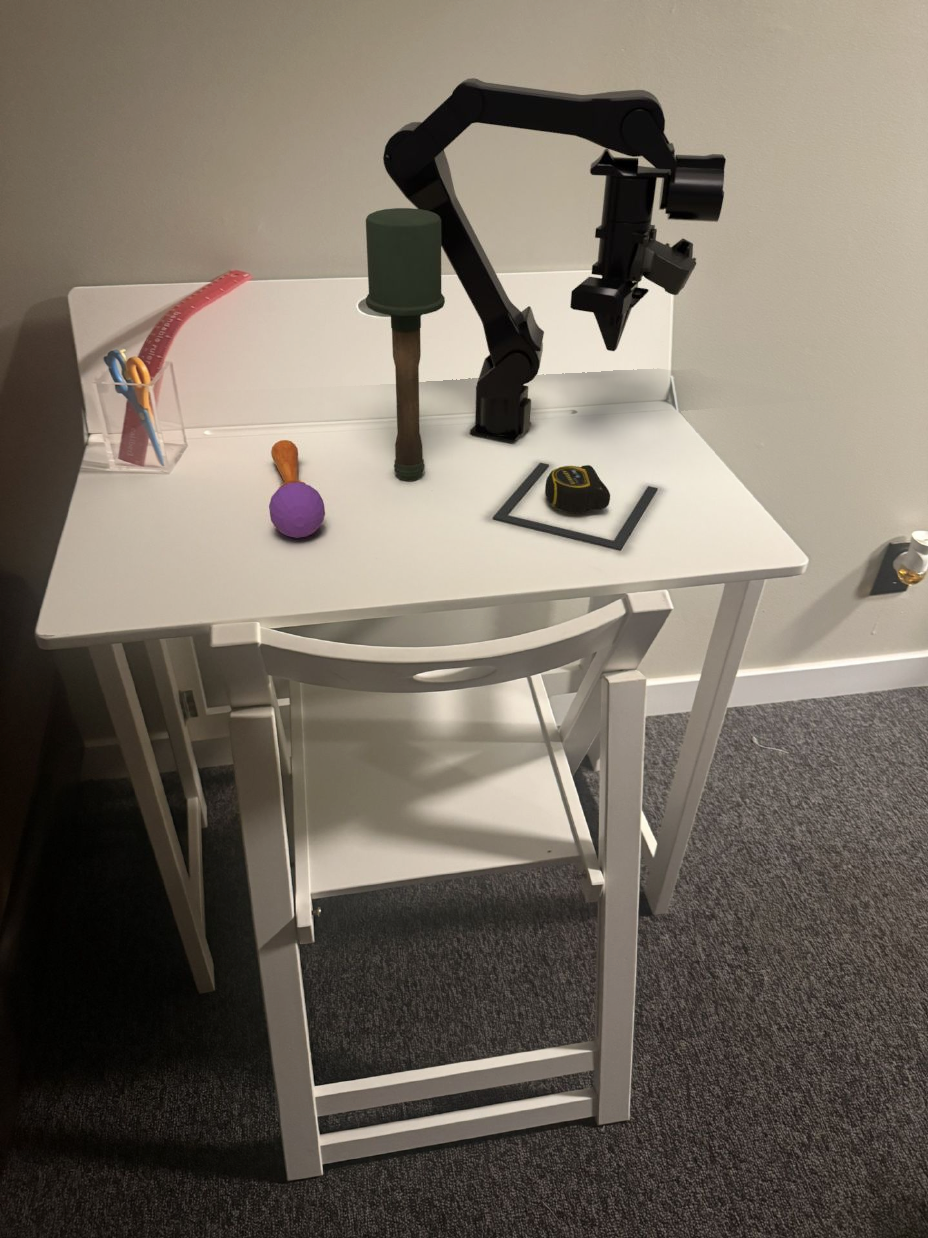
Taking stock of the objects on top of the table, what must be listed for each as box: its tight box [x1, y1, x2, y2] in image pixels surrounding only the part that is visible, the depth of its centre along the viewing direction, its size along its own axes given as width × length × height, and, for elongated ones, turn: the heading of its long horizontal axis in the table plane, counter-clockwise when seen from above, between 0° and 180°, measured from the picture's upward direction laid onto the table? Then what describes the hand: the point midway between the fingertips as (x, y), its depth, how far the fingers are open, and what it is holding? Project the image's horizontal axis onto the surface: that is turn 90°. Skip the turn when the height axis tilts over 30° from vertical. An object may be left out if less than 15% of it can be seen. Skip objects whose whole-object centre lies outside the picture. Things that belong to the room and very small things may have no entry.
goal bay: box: [492, 462, 658, 551], centre depth 106 cm, size 15×15×1 cm
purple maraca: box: [268, 439, 326, 539], centre depth 104 cm, size 6×6×20 cm
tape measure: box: [544, 464, 611, 514], centre depth 105 cm, size 7×7×4 cm
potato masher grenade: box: [365, 207, 446, 482], centre depth 102 cm, size 8×9×30 cm
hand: (611, 349), depth 113 cm, fingers closed
